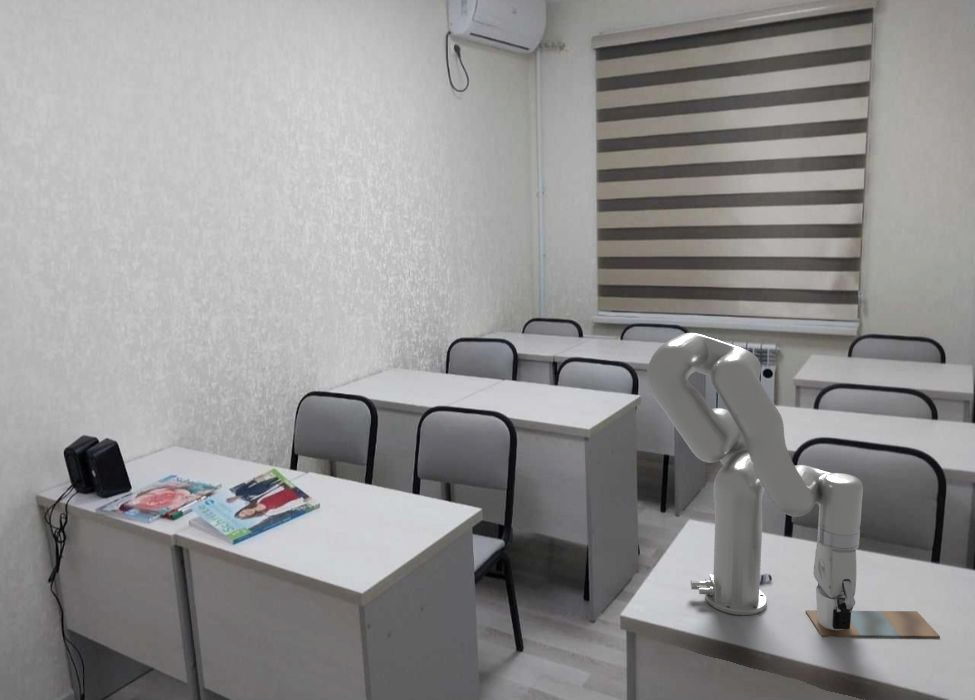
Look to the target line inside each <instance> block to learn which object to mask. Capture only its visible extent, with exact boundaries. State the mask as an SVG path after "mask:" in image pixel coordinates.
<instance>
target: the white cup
mask: <svg viewBox="0 0 975 700" xmlns="http://www.w3.org/2000/svg"><path fill="white" fill-rule="evenodd" d="M815 595H816V610H817V620H818V623H819V624H820V625H822V626H824V627H825V628H828V629H832V630H844V629H834V628H833V627H832V624H833V609H836V608H835V601H834V597H833V598H831V597H829V596H828V595H827V594H826V593H825V591H824V590H823V589H822V587H821V586H820V585H818V584H817V585H816V587H815ZM839 595H844V592H840V593H839ZM839 601H840V604H842V603H845V598H839Z"/></svg>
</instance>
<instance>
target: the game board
mask: <svg viewBox="0 0 975 700" xmlns="http://www.w3.org/2000/svg"><path fill="white" fill-rule="evenodd" d="M805 614H806V615H807V616H808V618H809V620H810V621H811V623H812V624H813V626H814V627H815V629H816V630H817V632H818V634H819V635H820V636H821V637H822V638H831V637H832V638H909V639H910V638H913V639H915V638H916V639H918V638H919V639H922V638H924V639H928V638H929V639H940V638H941V637H940V634H938V632H937V631H936V630H935V629H934V628H933V627H932V626H931V625H930V623H928V621H926V619H925V618H924V617H923V616H922V615H921V613H919V612H918V611H916V610H913V611H912V610H911V611H910V610H909V611H908V610H907V611H906V610H905V611H904V610H902V611H901V610H899V611H898V610H852V612H851V622H850V629H844V630H832V629H828V628H825V627H824V626H822V625H820V624H819V623H818V620H817V609H816V610H813V609H812V610H805Z"/></svg>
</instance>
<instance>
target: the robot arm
mask: <svg viewBox="0 0 975 700" xmlns="http://www.w3.org/2000/svg"><path fill="white" fill-rule="evenodd" d="M695 372H696V373H699V374H702V375H705V376H708V377H710V381H711V384H712V387H713V388H714V390H715V392H716V393H717V395H718V397H719V398H720V400H721V402H722V403H723V405H724V406H725V408H722V407H716V408H714V407H713V408H711V406H710V405H709V404H708V402H707V400H706V399H705V397H704V396H703V395H702V394H701V392H699V390H697V388H695V386H693V385H692V384H691V383H690V381H689V377H690V376H691V375H692V374H693V373H695ZM761 373H762V365H761V362H760V360H759V358H758V357H757V356H756V355H755V354H754V353H753V352H751V351H749V350H747V349H745V348H743V347H739V346H737V345H733V344H732V343H727V342H724V341H721V340H719V339H715V338H713V337H710V336H706V335H704V334H700V333H696V332H686V333H685V332H684V333H682V334H679V335H678V336H675V337H674V338H672V339H669V340H668V341H666V342H664V343H663V344H661V345H660V346H659V347H658V348H657V349H656V350H655V352H654V353H653V355H652V356H651V359H650V360H649V362H648V364H647V370H646V381H647V382H646V383H647V385H648V389H649V391H650V394H651V396H652V397H653V398H654V400H655V401H656V403H657V404H658V406H659V407H660V408H661V409H662V411H663V412H664V413H665V415H666V416H667V417H668V419H669V421H670V422H671V423H672V425H673V427H674V428H675V429H676V431H677V432H678V434H679V435H680V436H681V438H682V439H683V441H684V442H685V444H686V445H687V446H688V448H689V450H690V451H691V452H692V454H694V456H695V457H696V458H697V459H699V460H700V461H702V462H704V463H710V464H711V463H716V462H720V463H721V465H722V466H721V467H720V469H719V470H718V471H717V474H716V476H715V478H714V482H713V500H714V545H713V572H712V573H713V574H709V579H708V578H706V579H704V580H699V579H698V580H697V579H695V580H693V579H692V580H690V590H698V594H699V595H705V599H706V601H707V603H708V604H709V605H710V606H712V607H713V608H715V609H716V610H718V611H721V612H723V613H727V614H731V615H737V616H751V615H752V616H753V615H755V614H758V613H761V612H762V611H764V610H765V609H766V607H767V601H768V599H767V597H766V594H765V593H764V592H762V590H761V589H760V583H761V565H762V564H761V561H762V542H763V541H762V539H763V538H762V537H763V510H762V509H763V507H762V506H763V505H762V504H763V497H764V496H763V495H764V492H766V493H767V495H768V496H769V498H770V500H771V502H772V503H773V505H775V507H777V508H778V509H779V511H780V512H782V513H783V514H785V515H787V516H790V517H795V518H796V517H802V516H805V515H807V514H808V513H810V512H812V511H811V510H812V509H813V508H814V506H815V505H816V504H817V505H818V509H819V510H818V521H817V522H818V525H817V542H816V548H815V553H814V563H813V564H814V565H813V576H814V579H815V580H816V582H817V586H818V585H820V586H821V587H822V589H823V590H824V591H825V593H826V594H827V595H828V596H829V597H831V598H833V597H834V601H835V608H836V609H833V624H832V627H833V628H834V629H850V622H851V612H852V611H853V609H854V607H855V605H856V600H855V595H856V588H857V551H856V550H857V549H858V548H859V547H860V536H861V535H860V534H861V522H862V521H861V520H862V508H863V506H862V505H863V493H864V492H863V491H864V487H863V486H864V485H863V483H862V481H861V480H860V479H859V478H858V477H856V476H854V475H852V474H848V473H843V472H842V473H841V472H829V471H825V470H822V469H820V468H816V467H813V466H810V465H806V464H797V465H795V463H794V462H793V460H792V458H791V456H790V453H789V450H788V447H787V444H786V438H785V430H784V429H785V426H784V420H783V417H782V415H781V413H780V411H779V409H778V408H777V406H776V404H775V403H774V402H773V400H772V399H771V397H770V395H769V394H768V392H767V390H766V389H765V387H764V386H763V384H762V382H761V380H760V376H761ZM840 592H844V595H839V593H840ZM839 598H845V603H842V604H840V601H839Z"/></svg>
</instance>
